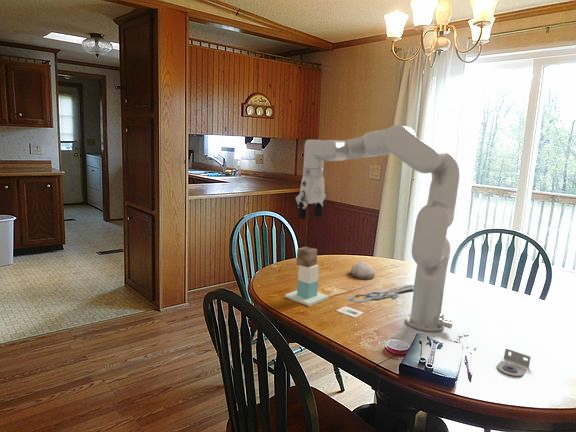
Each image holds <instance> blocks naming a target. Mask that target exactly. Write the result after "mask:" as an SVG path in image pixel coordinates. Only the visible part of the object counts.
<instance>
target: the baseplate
mask: <svg viewBox="0 0 576 432" xmlns="http://www.w3.org/2000/svg"><path fill="white" fill-rule="evenodd" d="M284 298H287V299H289V300H291V301H294V302H297V303H300V304H302V305H305V306H308V307H311V306H313V305H316V304H319V303H321V302H323V301H326V300H328V299H330V296H329V295H328V294H326V293H322V292H319V291H317V296H315V297H312V298H309V299H307V298H304V297H301V296H299V295H297V289H296V290H294V291H291V292H288V293H285V294H284Z"/></svg>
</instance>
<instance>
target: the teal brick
mask: <svg viewBox="0 0 576 432" xmlns="http://www.w3.org/2000/svg"><path fill="white" fill-rule="evenodd" d="M318 285H319V280H318V281H316V282H313V283H310V284H309V283H306V282H303V281H300V280H298V279H297V289H296V290H297V295H299V296H301V297H304V298H307V299H309V298H312V297H315V296H317V292H318V290H319V289H318V287H319V286H318Z"/></svg>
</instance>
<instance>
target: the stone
mask: <svg viewBox="0 0 576 432" xmlns="http://www.w3.org/2000/svg"><path fill="white" fill-rule="evenodd" d="M350 274H351V275H352V276H353V278H354V277H355V278H356V279H359V280H361V279H362V280H370V279H372V278H374V277H375V276H376V270H375V268H373V266H372V265H371V264H370V263H368V262H366V261H364V260H361V261H360V260H359V261H357V262H356V263H354V264H353V265H352V266H351V268H350Z"/></svg>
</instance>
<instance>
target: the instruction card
mask: <svg viewBox="0 0 576 432" xmlns="http://www.w3.org/2000/svg"><path fill="white" fill-rule="evenodd" d="M335 311H336V312H339V313H340V314H343V315H346V316H349V317H351V318H354V319H356V318H358V317H359V316H361V315H364V314H365V312H363V311H360V310H358V309H354V308H352V307H349V306H346V305H344V306H343V307H340V308H338V309H336V310H335Z"/></svg>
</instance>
